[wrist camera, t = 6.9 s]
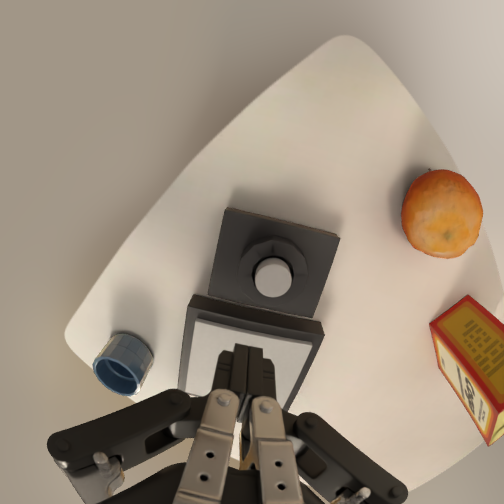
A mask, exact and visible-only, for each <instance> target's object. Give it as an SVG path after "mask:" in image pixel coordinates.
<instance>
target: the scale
mask: <svg viewBox="0 0 504 504" xmlns="http://www.w3.org/2000/svg"><path fill="white" fill-rule="evenodd" d="M324 336H325V334H324V331H323V328H322V325H321V322H316V321H311V320H306V319H301V318H295V317H290V316H286V315H281V314H276V313H271V312H266V311H262V310H257V309H253V308H248V307H244V306H239V305H235V304H231V303H226V302H222V301H218V300H214V299H210V298H206V297H202V296H198V295H193V296H192V298H191V300H190V302H189V304H188V307H187V314H186V321H185V328H184V335H183V343H182V351H181V360H180V369H179V378H178V388H177V389H179V390H182V391H184V392H186V393H187V394H189V395H193V396H197V397H202V396H205V395H207V394H208V393H209V392H210V391H211V388H212V383H213V378H214V373H215V369H216V364H217V360H218V355H219V354H220V353H221V352H222V351H223V350H227V351H231V352H233V349H234V345H235V343H238V344H243V345H248V346H253V347H258V348H263V358H268V359H271V361H272V362H273V364H274V366H275V380H276V397H277V402H278V403H279V404H280V406H281V408H282V409H283V410H284V411H286V412H288V410H289V408H290V406H291V404H292V402H293V400H294V398H295V397H296V395H297V393H298V391H299V389H300V387H301V385H302V383H303V381H304V379H305V377H306V375H307V373H308V371H309V369H310V367H311V364H312V362H313V360H314V358H315V356H316V354H317V352H318V349H319V347H320V345H321V343H322V341H323V338H324Z"/></svg>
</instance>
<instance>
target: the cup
mask: <svg viewBox="0 0 504 504" xmlns="http://www.w3.org/2000/svg"><path fill="white" fill-rule="evenodd" d="M152 363H153V358H152V355H151V353H150V350H149V349H148V348H147V347H146V346H145V344H144V343H143V342H141V341H140V340H138V339H137V338H136V337H134V336H131V335H128V334H116V335H115V336H113V337H111V339H110V340H109V341H108V343H107V344H106V345H105V346H104V348H103V349H102V350H101V352H100V353H99V354H98V356H97V357H96V358H95V360H94V362H93V370H94V373H95V375H96V377H97V378H98V380H99V381H100V382H101V383H102V384H103V385H104V386H105V387H106V388H108V389H109V390H111V391H112V392H114V393H117V394H119V395H122V396H133V395H136V394H137V393H138V392H139V391H140V389H141V387H142V385H143V383H144V381H145V379H146V377H147V375H148V373H149V371H150V369H151V367H152Z"/></svg>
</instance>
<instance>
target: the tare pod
mask: <svg viewBox="0 0 504 504" xmlns="http://www.w3.org/2000/svg"><path fill="white" fill-rule="evenodd" d="M339 241H340V238H339V237H338V236H337V235H336V234H333V233H329V232H326V231H322V230H318V229H314V228H311V227H307V226H303V225H299V224H295V223H291V222H287V221H283V220H279V219H275V218H271V217H267V216H263V215H259V214H255V213H251V212H246V211H242V210H238V209H234V208H229V207H227V208H226V209H225V211H224V216H223V220H222V225H221V230H220V235H219V239H218V244H217V249H216V254H215V259H214V264H213V269H212V274H211V279H210V284H209V289H208V295H209V296H213V297H217V298H221V299H225V300H230V301H234V302H238V303H242V304H247V305H251V306H256V307H260V308H265V309H270V310H274V311H279V312H284V313H289V314H294V315H299V316H304V317H309V318H313V315H314V312H315V310H316V307H317V305H318V302H319V299H320V296H321V294H322V291H323V288H324V285H325V283H326V280H327V277H328V274H329V271H330V268H331V265H332V263H333V260H334V257H335V254H336V251H337V247H338V244H339ZM268 258H278V259H281V260H283V261H284V262H285V263H286V264H287V265H288V267H289V270H290V274H291V279H292V281H291V286H290V288H289V289H288V291H287V292H286V293H284V294H283V295H281V296H278V297H268V296H265V295H263V294H262V293H260V292H259V290H258V289H257V287H256V284H255V274H256V269H257V267H258V265H259V264H260V263H261V262H262V261H263V260H265V259H268Z"/></svg>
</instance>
